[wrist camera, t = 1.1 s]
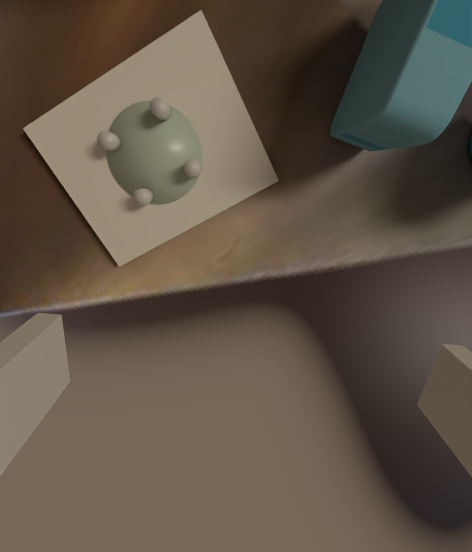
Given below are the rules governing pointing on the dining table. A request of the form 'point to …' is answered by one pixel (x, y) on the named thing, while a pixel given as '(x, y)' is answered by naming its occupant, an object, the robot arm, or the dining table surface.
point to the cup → (471, 145)
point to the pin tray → (155, 143)
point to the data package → (407, 75)
